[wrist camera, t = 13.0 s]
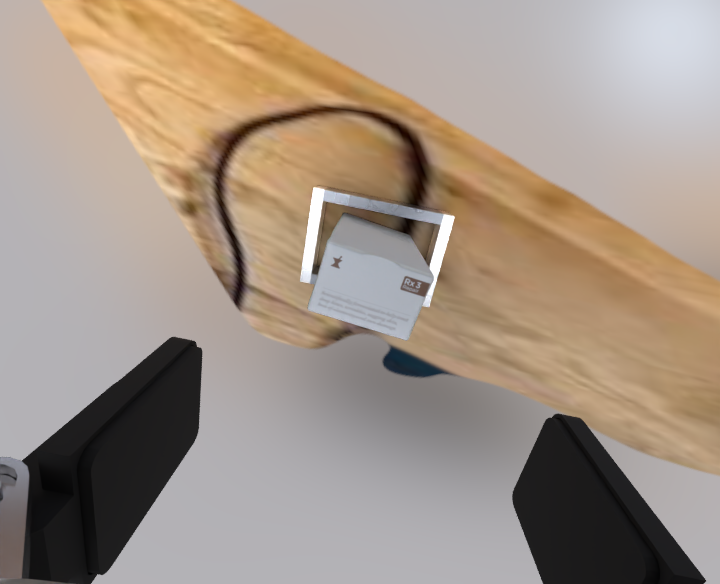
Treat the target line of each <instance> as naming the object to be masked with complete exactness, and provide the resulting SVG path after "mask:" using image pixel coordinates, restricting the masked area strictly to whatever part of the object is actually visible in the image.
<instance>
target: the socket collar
mask: <svg viewBox="0 0 720 584" xmlns="http://www.w3.org/2000/svg"><path fill="white" fill-rule="evenodd" d="M326 202H331V203H336V204H341V205H346V206H350V207H355V208H360V209H365V210H370V211H375V212H380V213H385V214H389V215H394V216H399V217H404V218H409V219H414V220H419V221H424V222H429V223H433V224H435V227H434V231H433V234H432V238H431V242H430V246H429V249H428V253H427V257H426V261H425V262H426V263H427V265H428V267H429V268H430V270H431V271H432V273H433V275H434V280H433V282H432V285H431V287H430V289H429V292H428V294H427V296H426V299H425V301H424V303H423V305H422V306H425V307H429V306H430V302H431V298H432V295H433V291H434V288H435V284H436V281H437V277H438V274H439V270H440V267H441V263H442V260H443V256H444V253H445V249H446V245H447V242H448V238H449V235H450V231H451V228H452V224H453V221H454V217H455V216H453V215H452V214H451V213H449V212H446V211H441V210H437V209H432V208H427V207H422V206H417V205H412V204H407V203H402V202H398V201H393V200H388V199H383V198H378V197H373V196H368V195H364V194H359V193H354V192H349V191H344V190H339V189H334V188H329V187H325V186H320V185H319V186H316V187H314V188H313V195H312V202H311V209H310V216H309V223H308V229H307V236H306V243H305V250H304V257H303V264H302V271H301V278H300V282H305V283H310V284H315V282H316V279H317V276H318V272H319V269H320V266H317V259H318V252H319V246H320V240H321V233H322V227H323V221H324V214H325V208H326Z"/></svg>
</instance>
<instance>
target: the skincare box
mask: <svg viewBox="0 0 720 584" xmlns="http://www.w3.org/2000/svg"><path fill="white" fill-rule="evenodd" d="M433 280H434V275H433V273H432V271H431V270H430V268H429V267H428V265H427V263H426V262H425V260H424V258H423V257H422V255H421V253H420V252H419V250H418V248H417V246H416V245H415V243H414V241H413V240H412V238H411V236H410V235H408V234H405V233H402V232H399V231H397V230H394V229H391V228H388V227H385V226H382V225H379V224H377V223H374V222H371V221H368V220H365V219H362V218H359V217H356V216H354V215H351V214H348V213H343V214H342V216H341V218H340V220H339V221H338V223H337V225H336V226H335V228H334V230H333V232H332V234H331V236H330V238H329V239H328V240H327V243H326V248H325V251H324V255H323V258H322V262H321V265H320V269H319V272H318V276H317V279H316V282H315V286H314V289H313V292H312V295H311V297H310V300H309V303H308V310H309V311H312V312H315V313H318V314H322V315H325V316H328V317H332V318H335V319H338V320H341V321H345V322H348V323H351V324H355V325H358V326H361V327H364V328H368V329H371V330H374V331H378V332H381V333H384V334H387V335H390V336H394V337H397V338H400V339H403V340H406V341H407V340H408V339H409V337H410V334H411V332H412V329H413V327H414V325H415V322H416V320H417V317H418V315H419V312H420V310H421V308H422V305H423V303H424V301H425V299H426V296H427V294H428V292H429V289H430V287H431V285H432V282H433Z"/></svg>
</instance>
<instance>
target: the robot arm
mask: <svg viewBox="0 0 720 584" xmlns="http://www.w3.org/2000/svg"><path fill="white" fill-rule="evenodd" d="M201 370H202V349H201V348H199V347H197V345H196V342H195V341H192V340H187V339H182V338H177V337H171V338H169V339H168V340H167V341H166V342H165V343H163V344H162V345H161V346H160V347H159V348H158V349H156V350H155V351H154V352H153V353H152V354H151V355H149V356H148V357H147V358H146V359H144V360H143V361H142V362H141V363H140V364H138V365H137V366H136V367H135V368H134V369H132V371H130V372H129V373H128V374H126V376H124V377H123V378H122V379H121V380H119V381H118V382H116V383H115V384H113V385H112V386H111V387H110V388H108V389H107V390H106V391H105V392H104V393H102V394H101V395H100V396H99V397H98V398H96V399H95V400H94V401H93V402H92V403H90V404H89V405H88V406H87V407H86V408H85V409H83V410H82V411H81V412H80V413H79V414H77V415H76V416H75V417H74V418H73V419H71V420H70V421H69V422H68V423H67V424H65V425H64V426H63V427H62V428H61V429H59V430H58V431H57V432H56V433H55V434H53V435H52V436H51V437H50V438H49V439H47V440H46V441H45V442H44V443H43V444H41V445H40V446H39V447H38V448H37V449H36V450H34V451H33V452H32V453H31V454H30V455H28V456H27V457H26V458H25V459H23V460H22V461H20V460H17V459H13V458H10V457H0V584H91V583H92V581H93V580H94V578H95V577H96V576H97V574H100V575H103V574H105V573H106V572H107V571H108V570H109V569H110V567H111V566H112V565H113V563H114V562H115V560H116V559H117V557H118V556H119V554H120V553H121V551H122V550H123V548H124V547H125V545H126V543H127V542H128V541H129V539H130V538H131V536H132V535H133V533H134V532H135V530H136V529H137V527H138V526H139V524H140V523H141V521H142V520H143V518H144V516H145V515H146V514H147V512H148V511H149V509H150V508H151V506H152V505H153V503H154V502H155V500H156V498H157V497H158V496H159V494H160V493H161V491H162V490H163V488H164V487H165V485H166V484H167V482H168V481H169V479H170V478H171V476H172V475H173V473H174V472H175V470H176V469H177V467H178V466H179V464H180V463H181V461H182V460H183V458H184V457H185V455H186V454H187V452H188V450H189V449H190V448H191V446H192V445H193V443H194V441H195V439H196V437H197V434H198V429H199V412H200V390H201ZM512 497H513V505H514V508H515V511H516V513H517V516H518V519H519V521H520V524H521V527H522V529H523V532H524V535H525V537H526V540H527V542H528V545H529V548H530V550H531V553H532V556H533V558H534V561H535V564H536V566H537V569H538V571H539V574H540V577H541V579H542V582H543V584H704V583H705V582H706V580H705V578H704V577H703V576H702V575H701V573H700V572H699V571H698V569H697V568H696V567H695V566H694V564H693V563H692V562H691V560H690V559H689V558H688V556H687V555H686V554H685V553H684V551H683V550H682V549H681V547H680V546H679V545H678V544H677V542H676V541H675V539H674V538H673V537H672V536H671V534H670V533H669V532H668V530H667V529H666V528H665V526H664V525H663V524H662V523H661V521H660V520H659V519H658V517H657V516H656V515H655V514H654V512H653V511H652V510H651V508H650V507H649V506H648V504H647V503H646V502H645V500H644V499H643V498H642V497H641V495H640V494H639V493H638V491H637V490H636V489H635V488H634V486H633V485H632V484H631V482H630V481H629V480H628V478H627V477H626V476H625V475H624V473H623V472H622V471H621V469H620V468H619V467H618V466H617V464H616V463H615V462H614V460H613V459H612V458H611V456H610V455H609V454H608V452H607V451H606V450H605V449H604V447H603V446H602V445H601V443H600V442H599V441H598V439H597V438H596V437H595V436H594V434H593V433H592V432H591V430H590V429H589V428H588V426H587V425H586V424H585V423H584V421H583V420H582V419H580V418H577V417H572V416H567V415H562V414H555V415H554V416H553V417H552V418H548V419H546V421H545V423H544V425H543V427H542V429H541V432H540V434H539V436H538V438H537V441H536V442H535V445H534V447H533V449H532V451H531V453H530V455H529V458H528V460H527V462H526V464H525V466H524V469H523V471H522V473H521V475H520V477H519V480H518V482H517V484H516V486H515V488H514V491H513V496H512Z"/></svg>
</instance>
